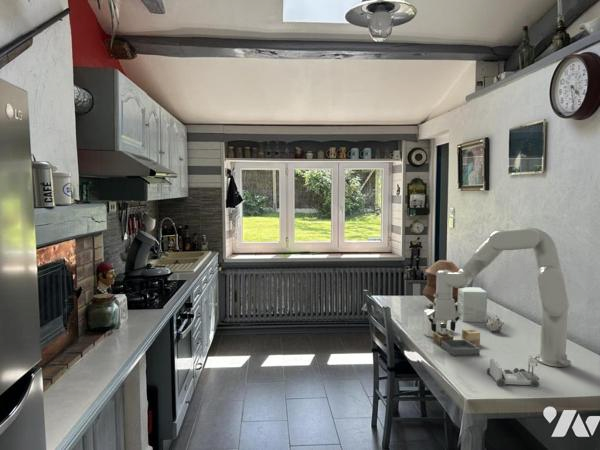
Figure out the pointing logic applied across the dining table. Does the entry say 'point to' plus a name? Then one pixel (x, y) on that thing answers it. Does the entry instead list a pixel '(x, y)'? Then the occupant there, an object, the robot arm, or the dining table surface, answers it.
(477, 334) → the oak block
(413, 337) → the dining table surface
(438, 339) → the square wooden socket
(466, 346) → the tray
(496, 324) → the game die
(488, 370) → the toy car
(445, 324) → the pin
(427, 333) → the toilet paper
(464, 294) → the supplement box
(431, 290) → the pottery vessel
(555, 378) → the dining table surface
